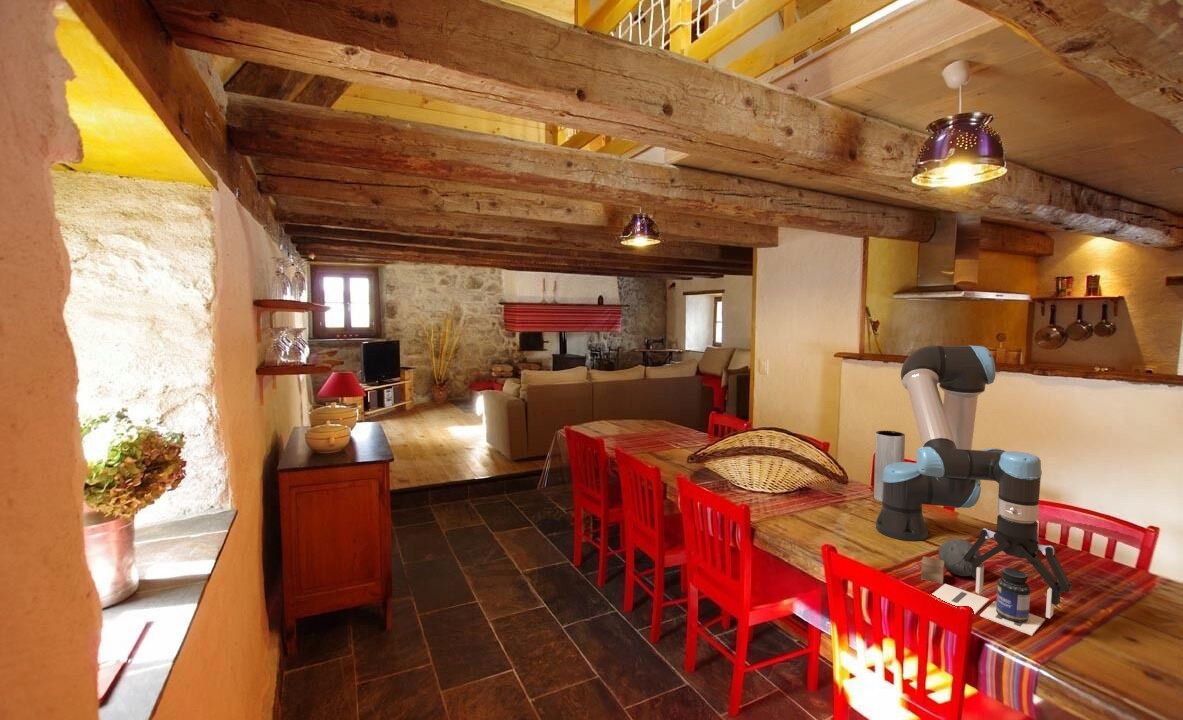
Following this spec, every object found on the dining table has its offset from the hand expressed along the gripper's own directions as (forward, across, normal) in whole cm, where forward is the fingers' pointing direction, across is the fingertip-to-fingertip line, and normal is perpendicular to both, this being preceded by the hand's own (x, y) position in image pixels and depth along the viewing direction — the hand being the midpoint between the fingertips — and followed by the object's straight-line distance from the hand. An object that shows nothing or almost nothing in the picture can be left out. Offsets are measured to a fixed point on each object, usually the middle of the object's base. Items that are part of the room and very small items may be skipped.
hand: (1012, 603), depth 125 cm
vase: (+4, -56, +62) cm, 84 cm away
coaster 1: (+4, -11, 0) cm, 12 cm away
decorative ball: (+4, -16, +15) cm, 22 cm away
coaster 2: (+4, 0, 0) cm, 4 cm away
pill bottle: (+4, 0, 0) cm, 4 cm away
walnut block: (+4, -20, +6) cm, 21 cm away
